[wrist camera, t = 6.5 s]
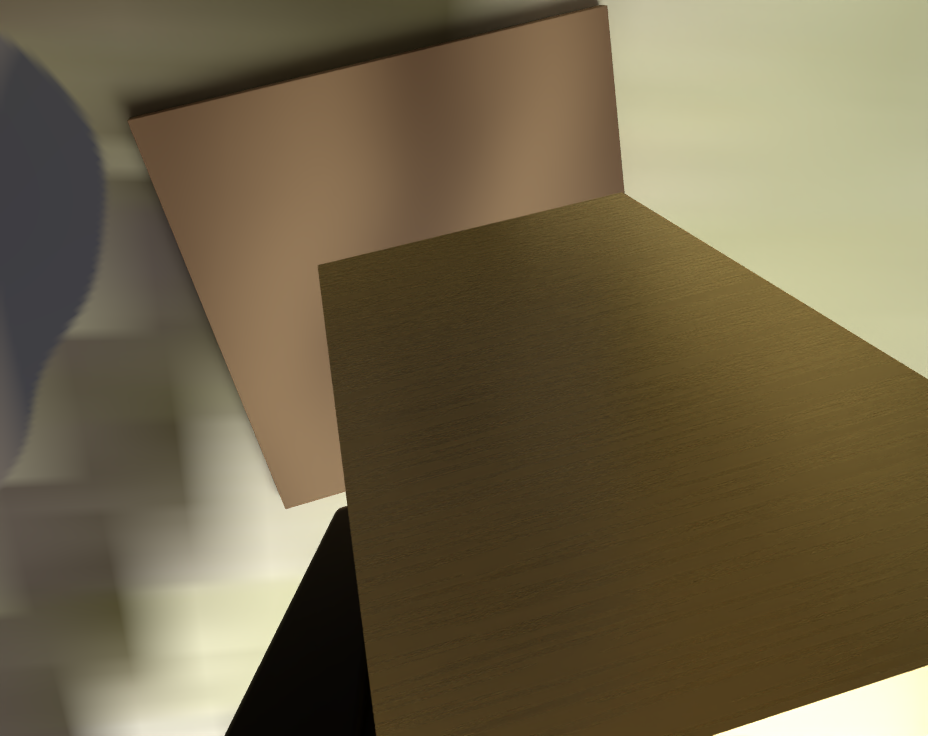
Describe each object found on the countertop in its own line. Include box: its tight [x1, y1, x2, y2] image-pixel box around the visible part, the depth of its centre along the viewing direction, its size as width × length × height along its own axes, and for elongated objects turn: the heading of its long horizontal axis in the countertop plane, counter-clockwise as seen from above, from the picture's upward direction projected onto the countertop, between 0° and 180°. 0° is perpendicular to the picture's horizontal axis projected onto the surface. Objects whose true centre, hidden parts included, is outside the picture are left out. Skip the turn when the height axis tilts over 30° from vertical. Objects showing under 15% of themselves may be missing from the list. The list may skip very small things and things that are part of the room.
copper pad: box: [128, 5, 624, 509], centre depth 21 cm, size 12×12×1 cm
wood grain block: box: [317, 192, 928, 736], centre depth 8 cm, size 4×4×8 cm
